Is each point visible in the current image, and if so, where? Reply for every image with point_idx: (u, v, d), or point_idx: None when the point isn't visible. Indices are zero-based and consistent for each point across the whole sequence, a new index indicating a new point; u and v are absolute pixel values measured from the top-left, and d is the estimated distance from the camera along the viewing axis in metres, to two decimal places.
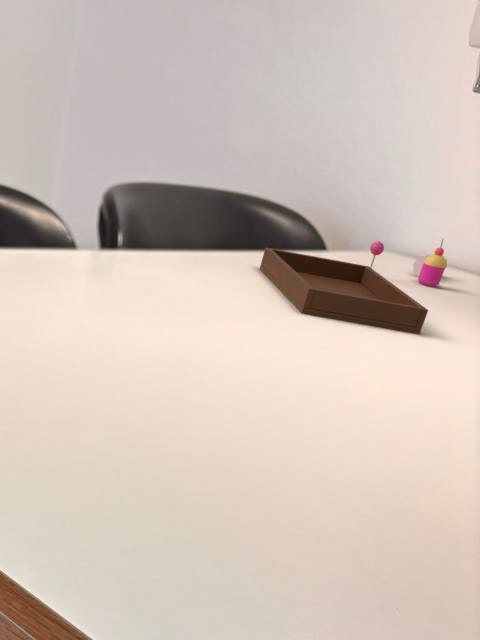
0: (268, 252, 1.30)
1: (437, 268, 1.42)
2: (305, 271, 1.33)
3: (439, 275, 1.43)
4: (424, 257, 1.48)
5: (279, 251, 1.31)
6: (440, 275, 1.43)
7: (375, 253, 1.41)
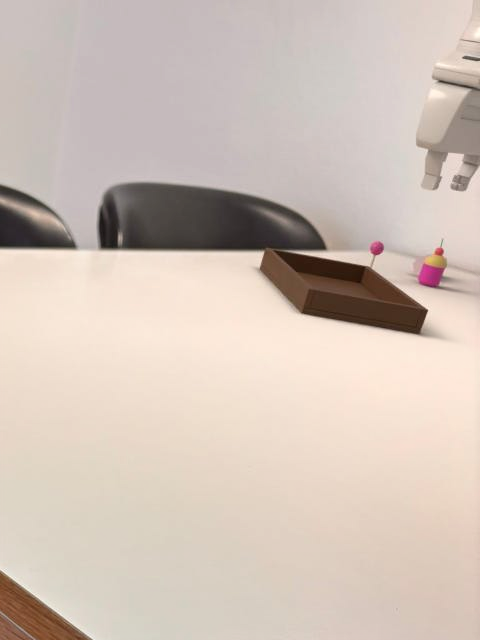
0: (268, 252, 1.30)
1: (437, 268, 1.42)
2: (305, 271, 1.33)
3: (439, 275, 1.43)
4: (424, 257, 1.48)
5: (279, 251, 1.31)
6: (440, 275, 1.43)
7: (375, 253, 1.41)
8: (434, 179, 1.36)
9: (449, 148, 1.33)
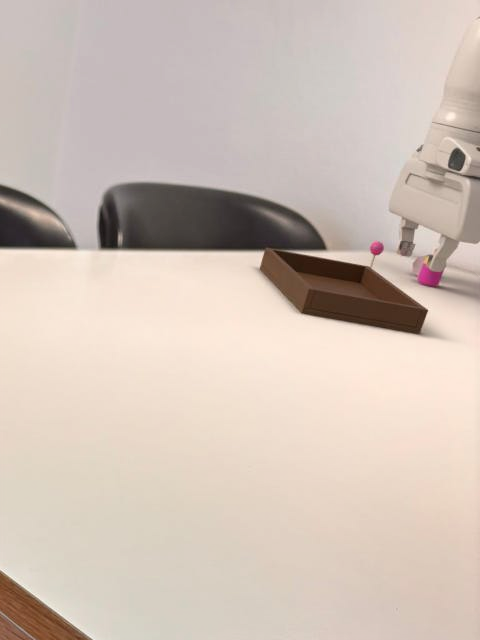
0: (268, 252, 1.30)
1: None
2: (305, 271, 1.33)
3: (439, 275, 1.43)
4: (423, 257, 1.48)
5: (279, 251, 1.31)
6: (440, 275, 1.43)
7: (375, 253, 1.41)
8: (443, 262, 1.41)
9: None
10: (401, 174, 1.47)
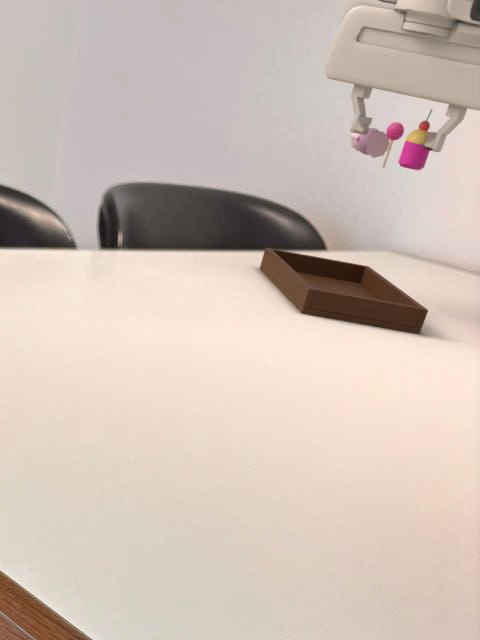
0: (268, 252, 1.30)
1: None
2: (305, 271, 1.33)
3: (427, 155, 1.18)
4: (379, 133, 1.21)
5: (279, 251, 1.31)
6: (427, 155, 1.18)
7: (397, 138, 1.11)
8: (444, 139, 1.16)
9: None
10: (345, 28, 1.16)
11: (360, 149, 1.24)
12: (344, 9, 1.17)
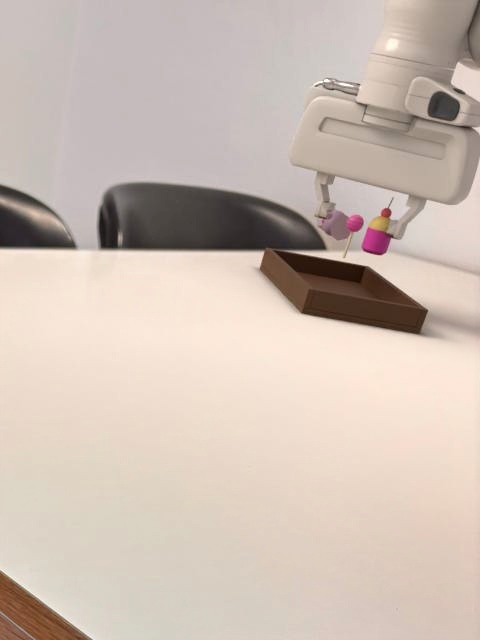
0: (268, 252, 1.30)
1: None
2: (305, 271, 1.33)
3: None
4: (343, 217, 1.23)
5: (279, 251, 1.31)
6: None
7: (357, 230, 1.13)
8: (405, 227, 1.18)
9: None
10: (308, 118, 1.18)
11: (325, 231, 1.26)
12: (307, 98, 1.19)
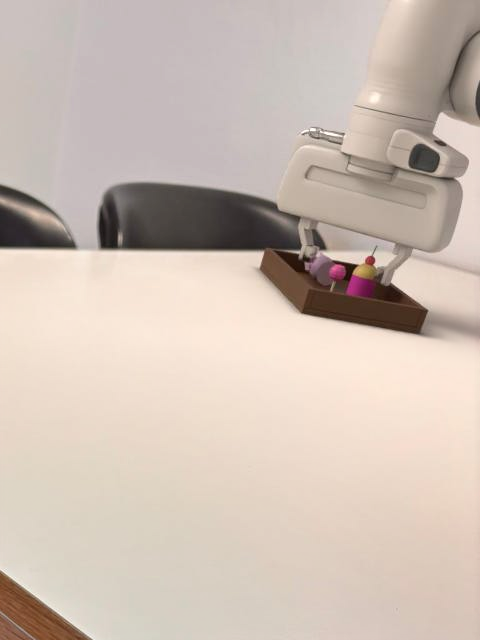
0: (268, 252, 1.30)
1: None
2: (305, 271, 1.33)
3: None
4: (329, 263, 1.26)
5: (279, 251, 1.31)
6: (374, 287, 1.23)
7: (339, 279, 1.15)
8: (392, 273, 1.20)
9: None
10: (294, 165, 1.21)
11: (312, 276, 1.29)
12: (294, 146, 1.22)
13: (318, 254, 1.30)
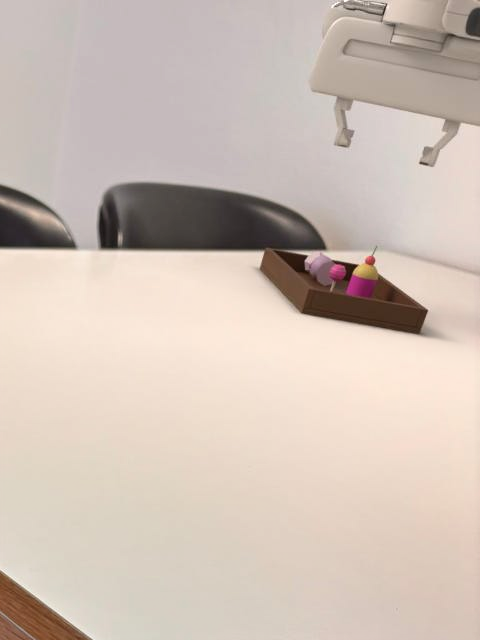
0: (268, 252, 1.30)
1: (374, 281, 1.22)
2: (305, 271, 1.33)
3: None
4: (329, 263, 1.26)
5: (279, 251, 1.31)
6: (374, 287, 1.23)
7: (339, 279, 1.15)
8: (438, 153, 1.15)
9: None
10: (330, 40, 1.13)
11: (312, 276, 1.29)
12: (326, 20, 1.14)
13: (318, 254, 1.30)
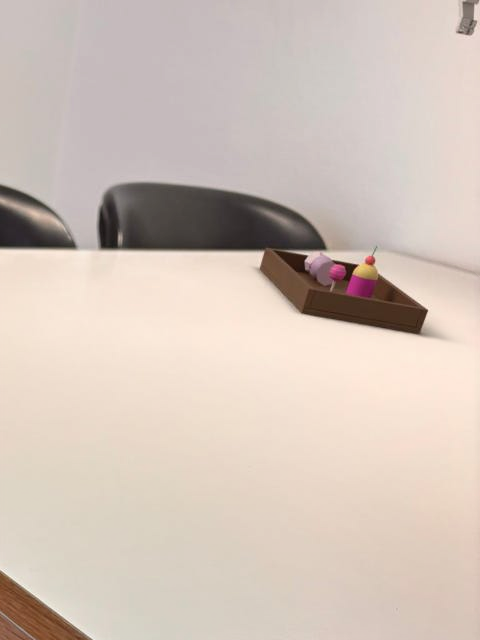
0: (268, 252, 1.30)
1: (374, 281, 1.22)
2: (305, 271, 1.33)
3: None
4: (329, 263, 1.26)
5: (279, 251, 1.31)
6: (374, 287, 1.23)
7: (339, 279, 1.15)
8: None
9: None
10: None
11: (312, 276, 1.29)
12: None
13: (318, 254, 1.30)
